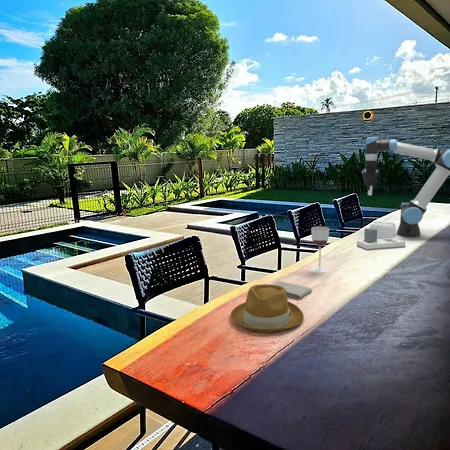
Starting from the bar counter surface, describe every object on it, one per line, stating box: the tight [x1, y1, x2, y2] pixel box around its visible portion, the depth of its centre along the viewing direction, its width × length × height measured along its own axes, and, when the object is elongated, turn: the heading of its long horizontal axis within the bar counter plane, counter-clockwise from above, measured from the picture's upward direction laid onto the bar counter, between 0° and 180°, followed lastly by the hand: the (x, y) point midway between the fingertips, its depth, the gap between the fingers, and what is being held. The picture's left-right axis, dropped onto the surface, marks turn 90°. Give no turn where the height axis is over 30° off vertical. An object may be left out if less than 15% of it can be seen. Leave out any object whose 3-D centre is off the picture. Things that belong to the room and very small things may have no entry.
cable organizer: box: [369, 220, 396, 239], centre depth 268 cm, size 15×11×12 cm
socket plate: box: [356, 237, 406, 251], centre depth 250 cm, size 26×12×4 cm, turn 101°
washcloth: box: [271, 280, 313, 300], centre depth 175 cm, size 12×18×3 cm, turn 52°
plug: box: [363, 227, 377, 243], centre depth 249 cm, size 5×6×10 cm
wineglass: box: [310, 226, 330, 274], centre depth 203 cm, size 9×10×22 cm
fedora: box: [230, 284, 305, 333], centre depth 147 cm, size 27×29×12 cm
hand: (369, 195), depth 273 cm, fingers closed
